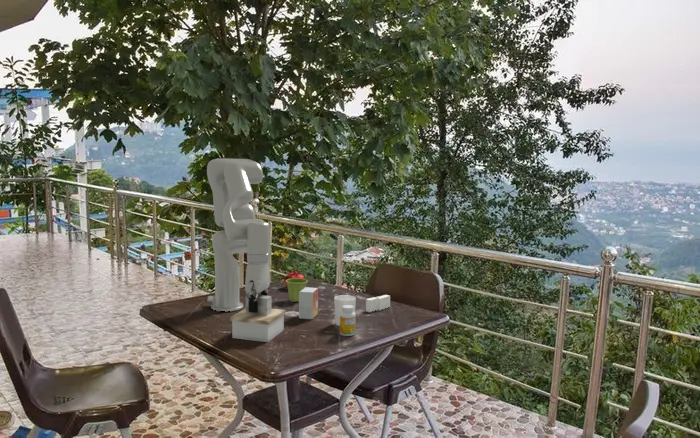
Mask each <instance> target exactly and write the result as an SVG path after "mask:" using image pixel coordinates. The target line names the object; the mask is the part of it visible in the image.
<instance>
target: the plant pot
mask: <svg viewBox="0 0 700 438" xmlns="http://www.w3.org/2000/svg"><path fill="white" fill-rule="evenodd" d="M308 281H309V280H307V279H306V278H305V279H299V278H294V279H287V280H286V282H287V286H288V288H287V291H288V292H287V293H288V299H289V301H290V302H293V303H294V302H298V303H299V292H300V291H301V290H302V289H304V288H305V287H307V283H308Z"/></svg>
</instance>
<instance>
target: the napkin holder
mask: <svg viewBox="0 0 700 438" xmlns="http://www.w3.org/2000/svg"><path fill="white" fill-rule="evenodd" d="M388 307H389V308H391V295H388V294H383V295H379V296H376V297H374V296H373V297H370V298H369V297H368V298H366V299H365V312H368V313H372V311H373V312H374V311H375V310H376V311H382V309H383V310H385V308H386V309H388Z"/></svg>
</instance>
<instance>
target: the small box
mask: <svg viewBox="0 0 700 438" xmlns="http://www.w3.org/2000/svg"><path fill="white" fill-rule="evenodd" d="M318 313H319V287H309V286H306V287H305V288H304V289H302V290H301V291H300V292H299V302H298V319H303V320H314V318H315V317H316V316H317V315H319V314H318Z"/></svg>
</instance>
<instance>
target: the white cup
mask: <svg viewBox="0 0 700 438" xmlns="http://www.w3.org/2000/svg"><path fill="white" fill-rule="evenodd" d="M356 302H357V299H356V296H354V295H348V294H341V295H336V296H334V302H333V303H334V317H335V318H334V319H335V320H334V321H335V322H334V323H335V325H336V326H338V327H340V314H341V312H343V311H342V306H344V305H352V306H354V311H353V312H354V313H355V314H356Z"/></svg>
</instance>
